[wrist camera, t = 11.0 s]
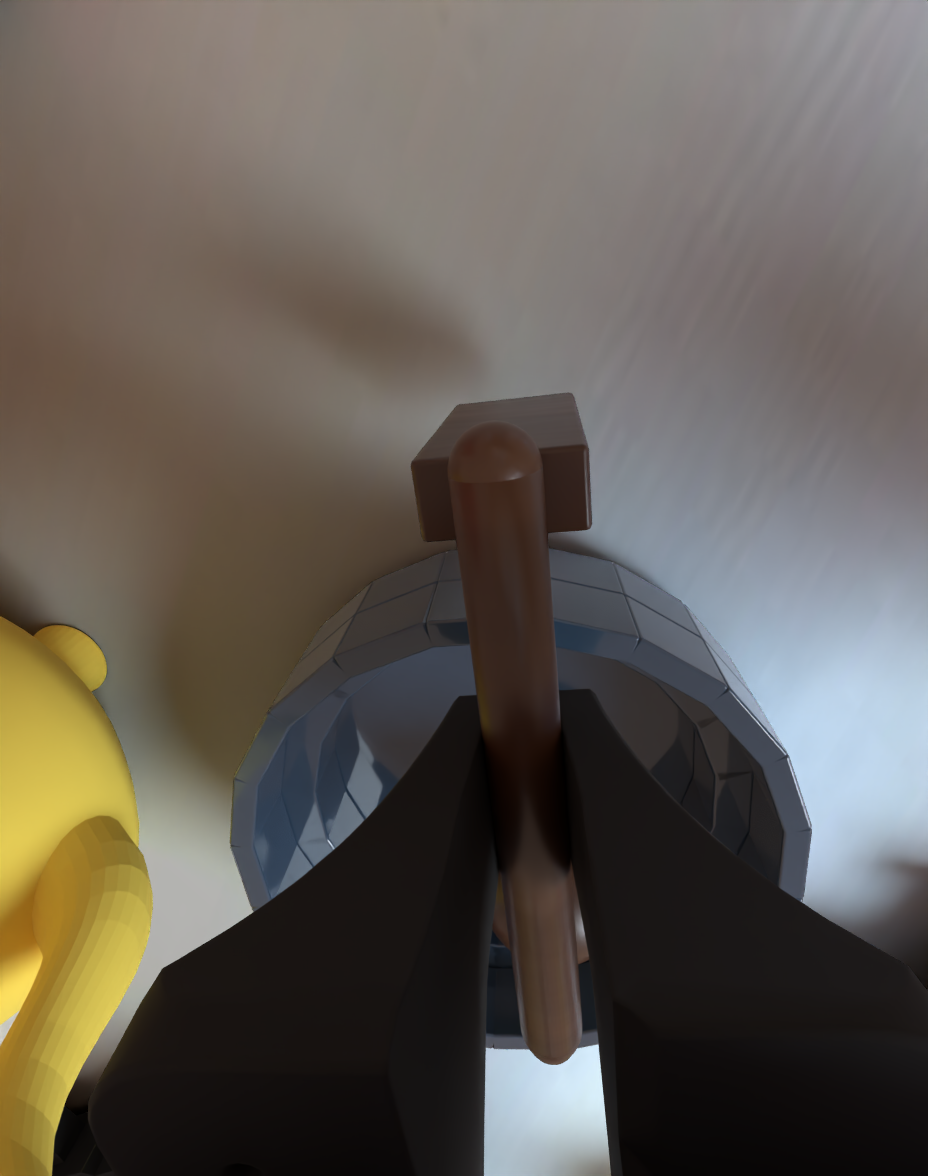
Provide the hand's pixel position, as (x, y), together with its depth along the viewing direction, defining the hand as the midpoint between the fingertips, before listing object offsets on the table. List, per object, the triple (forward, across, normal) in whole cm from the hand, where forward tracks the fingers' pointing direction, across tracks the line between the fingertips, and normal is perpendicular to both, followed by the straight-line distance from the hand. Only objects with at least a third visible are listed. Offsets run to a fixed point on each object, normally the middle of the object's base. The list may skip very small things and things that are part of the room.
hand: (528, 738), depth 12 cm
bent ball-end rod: (+4, 0, +1) cm, 4 cm away
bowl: (+6, +1, +5) cm, 8 cm away
